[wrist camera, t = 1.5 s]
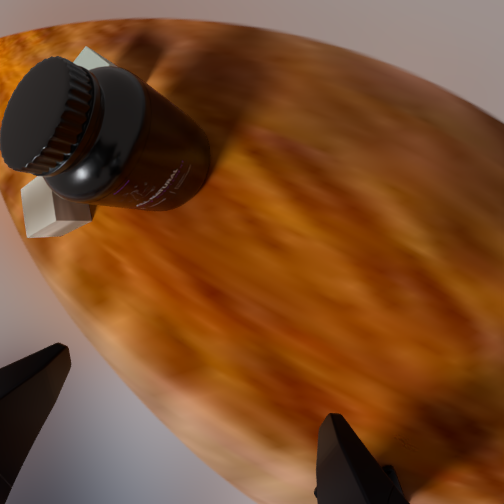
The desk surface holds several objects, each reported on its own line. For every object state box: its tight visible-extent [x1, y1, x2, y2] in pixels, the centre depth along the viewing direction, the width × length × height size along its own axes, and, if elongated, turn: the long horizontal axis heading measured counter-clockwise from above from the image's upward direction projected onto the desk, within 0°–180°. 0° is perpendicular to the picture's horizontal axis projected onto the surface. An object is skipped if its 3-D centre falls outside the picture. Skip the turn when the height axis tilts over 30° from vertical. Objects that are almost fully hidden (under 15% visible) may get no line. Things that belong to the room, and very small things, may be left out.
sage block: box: [73, 46, 118, 70], centre depth 19 cm, size 4×4×4 cm
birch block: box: [21, 176, 92, 238], centre depth 21 cm, size 4×4×4 cm
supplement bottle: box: [0, 56, 210, 211], centre depth 15 cm, size 7×7×12 cm
